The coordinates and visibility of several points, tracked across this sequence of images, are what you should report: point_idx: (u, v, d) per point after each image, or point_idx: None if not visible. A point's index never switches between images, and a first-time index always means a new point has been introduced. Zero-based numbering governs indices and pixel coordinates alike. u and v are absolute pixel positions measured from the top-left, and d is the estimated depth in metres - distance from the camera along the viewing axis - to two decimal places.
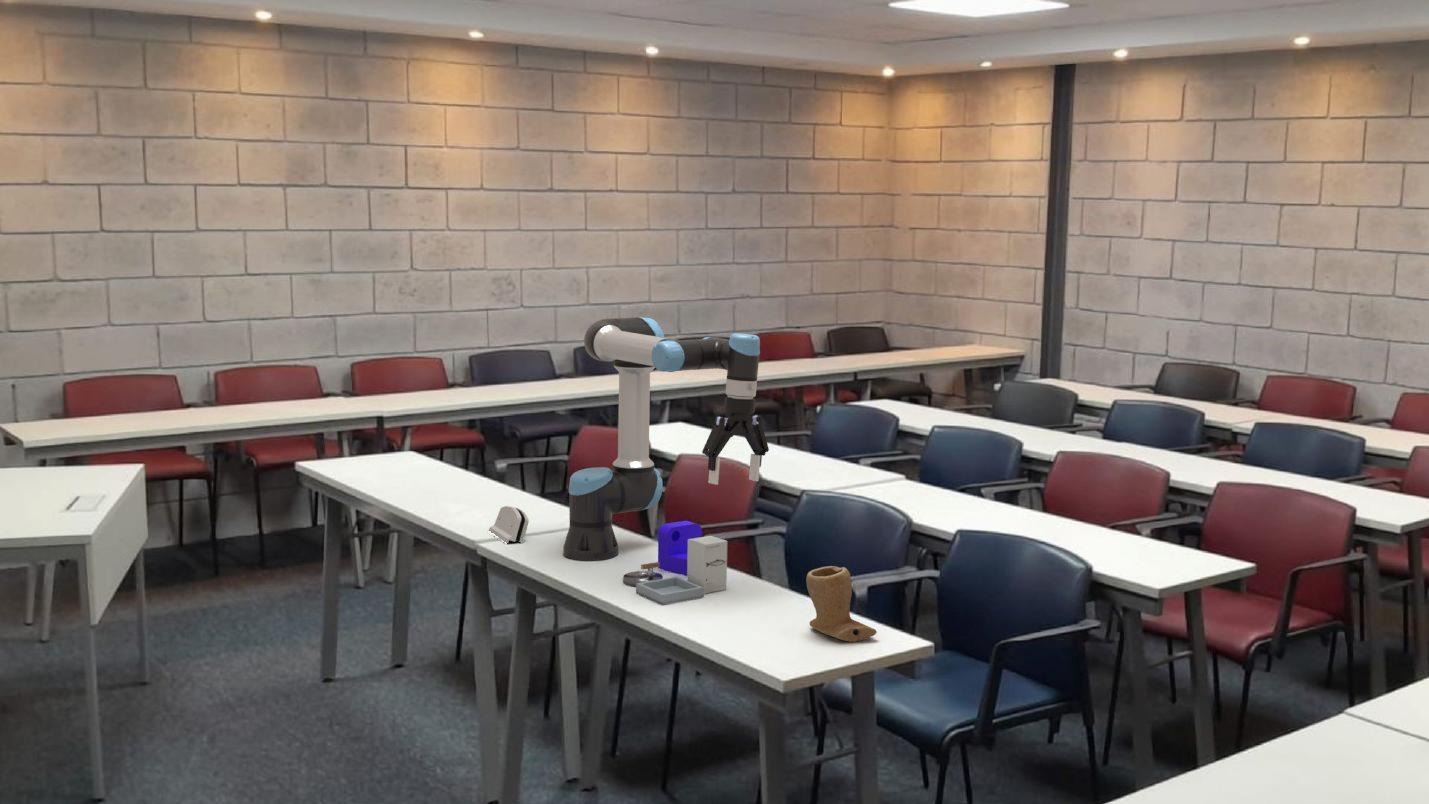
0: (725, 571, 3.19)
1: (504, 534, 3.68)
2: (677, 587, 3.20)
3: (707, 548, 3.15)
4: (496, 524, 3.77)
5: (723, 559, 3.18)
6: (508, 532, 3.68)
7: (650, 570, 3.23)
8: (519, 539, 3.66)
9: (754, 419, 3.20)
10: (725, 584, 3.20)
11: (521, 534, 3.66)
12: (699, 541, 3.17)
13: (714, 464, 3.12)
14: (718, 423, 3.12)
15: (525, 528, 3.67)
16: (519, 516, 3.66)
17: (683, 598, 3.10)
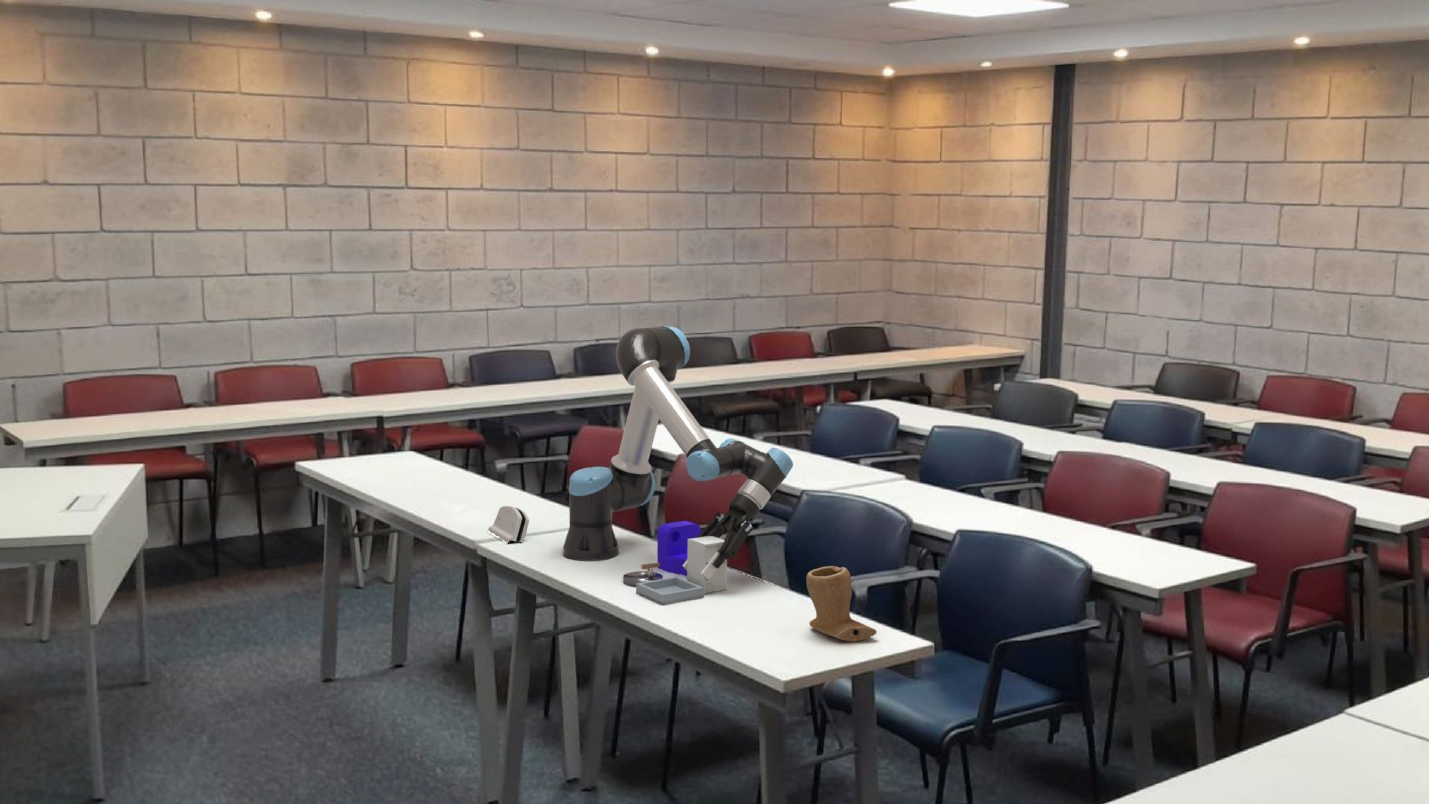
0: (725, 571, 3.19)
1: (504, 534, 3.68)
2: (677, 587, 3.20)
3: (707, 548, 3.15)
4: (496, 524, 3.77)
5: None
6: (508, 532, 3.68)
7: (650, 570, 3.23)
8: (520, 539, 3.66)
9: None
10: (725, 584, 3.20)
11: (522, 534, 3.66)
12: (699, 541, 3.17)
13: None
14: (747, 530, 3.18)
15: (526, 528, 3.67)
16: (520, 516, 3.67)
17: (683, 598, 3.10)
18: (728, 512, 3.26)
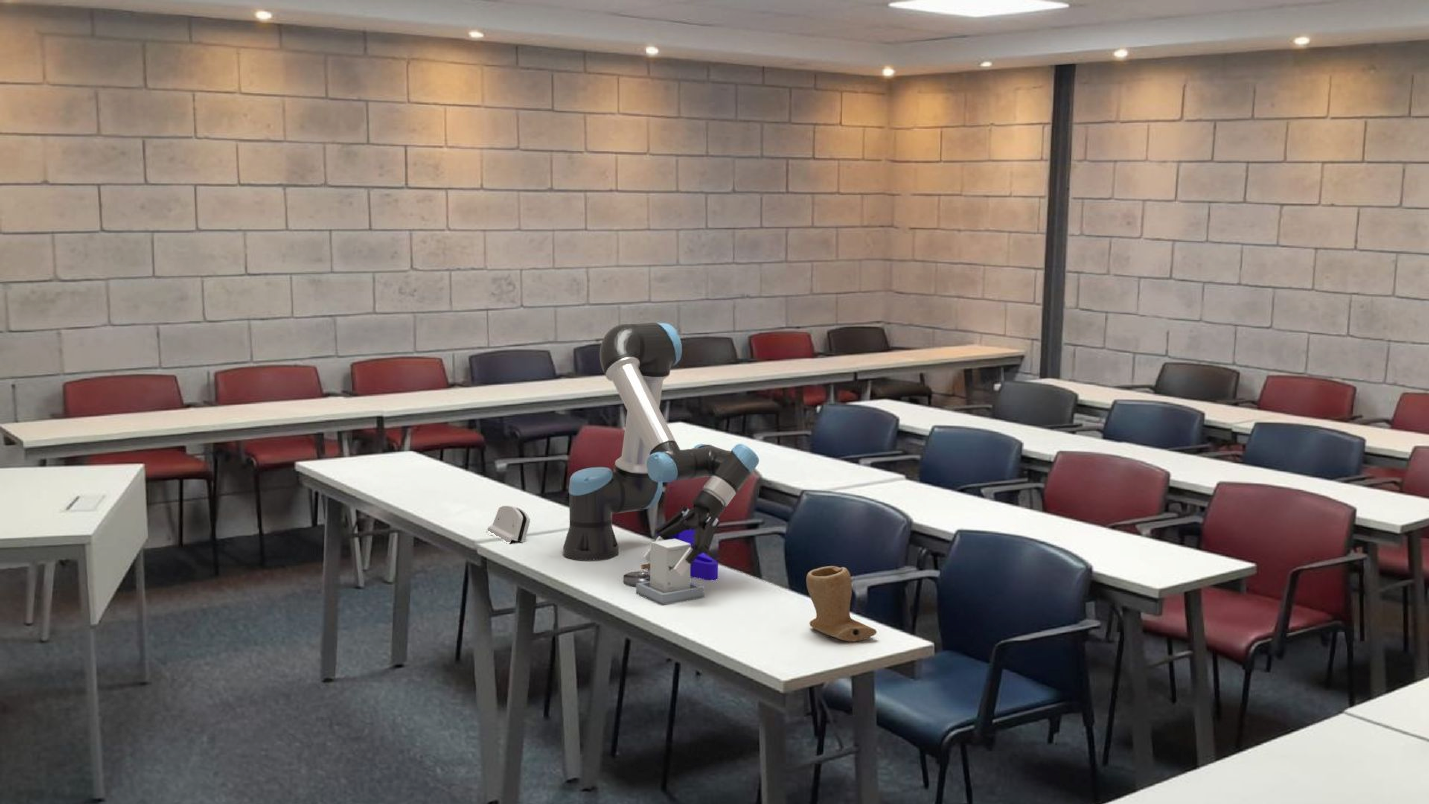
0: (688, 574, 3.13)
1: (505, 534, 3.69)
2: None
3: (670, 551, 3.09)
4: (495, 523, 3.77)
5: None
6: (509, 532, 3.68)
7: None
8: (521, 538, 3.67)
9: None
10: (688, 588, 3.14)
11: (523, 533, 3.67)
12: (662, 544, 3.11)
13: None
14: (715, 524, 3.12)
15: (527, 527, 3.68)
16: (520, 515, 3.67)
17: (683, 598, 3.10)
18: (692, 510, 3.19)
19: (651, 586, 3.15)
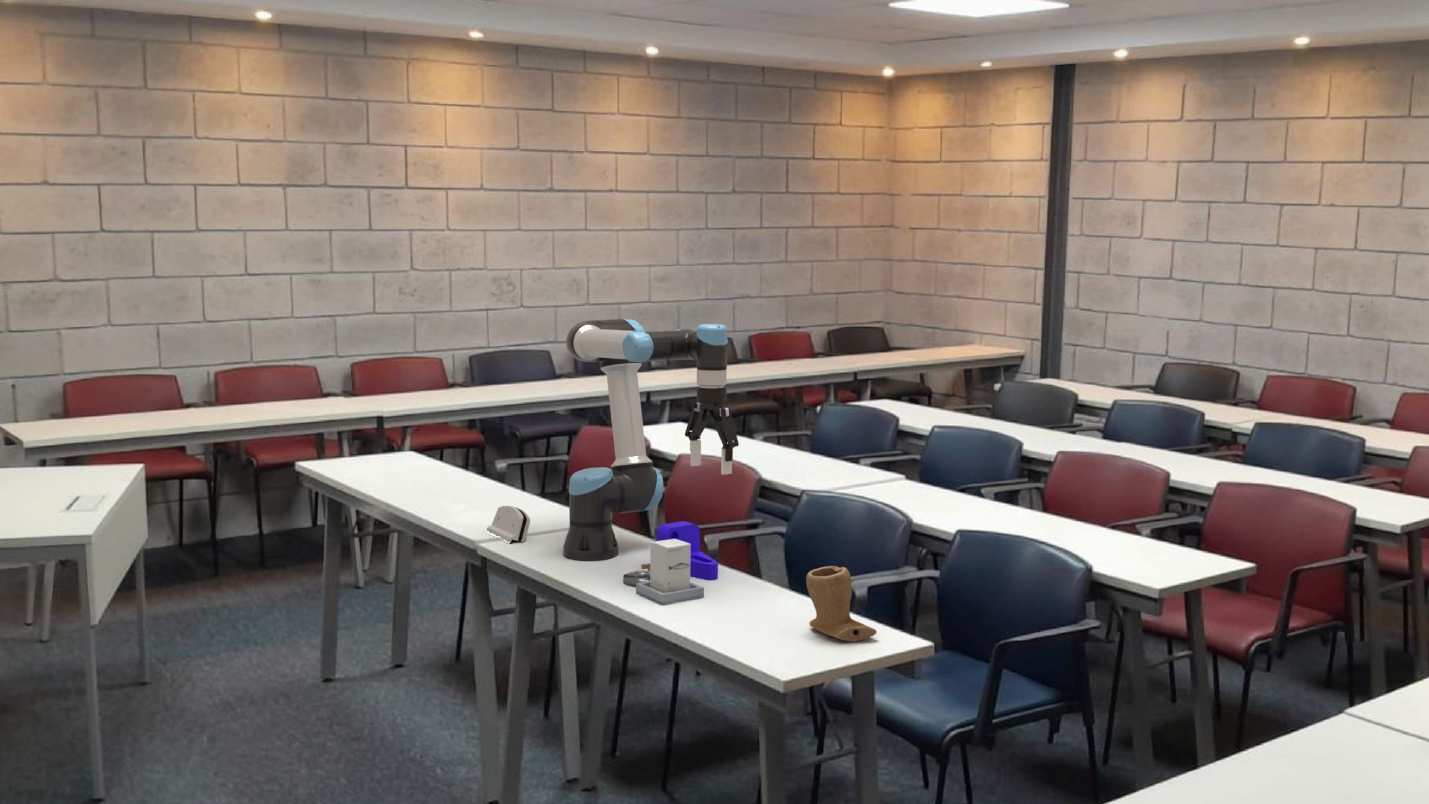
0: (688, 574, 3.13)
1: (505, 534, 3.69)
2: None
3: (670, 551, 3.09)
4: (494, 523, 3.77)
5: (686, 562, 3.12)
6: (509, 531, 3.69)
7: None
8: (521, 538, 3.67)
9: None
10: (688, 588, 3.14)
11: (523, 533, 3.67)
12: (662, 544, 3.11)
13: None
14: (728, 414, 3.18)
15: (527, 527, 3.68)
16: (521, 515, 3.67)
17: (683, 598, 3.10)
18: (702, 405, 3.24)
19: (651, 586, 3.15)
